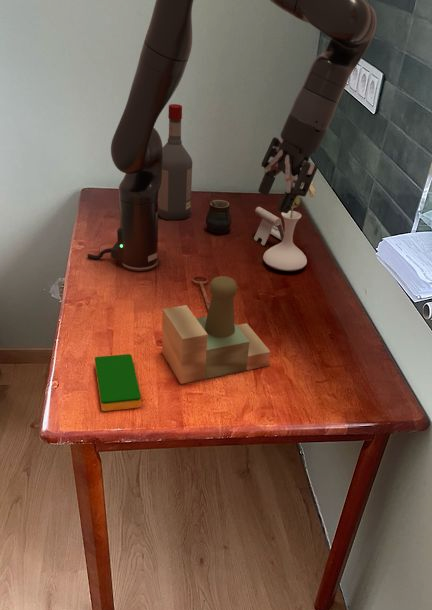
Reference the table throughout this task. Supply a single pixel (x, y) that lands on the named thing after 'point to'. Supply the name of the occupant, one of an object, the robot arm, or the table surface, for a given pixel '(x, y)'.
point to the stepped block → (207, 347)
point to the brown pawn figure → (221, 307)
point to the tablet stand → (268, 226)
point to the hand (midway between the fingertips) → (272, 202)
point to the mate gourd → (218, 216)
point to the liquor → (175, 172)
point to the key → (203, 289)
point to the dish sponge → (117, 382)
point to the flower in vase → (288, 243)
